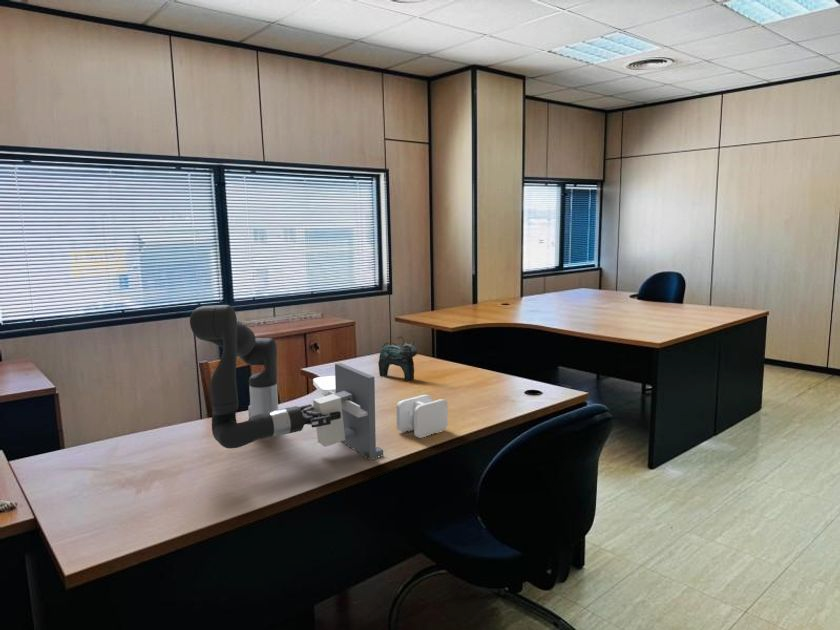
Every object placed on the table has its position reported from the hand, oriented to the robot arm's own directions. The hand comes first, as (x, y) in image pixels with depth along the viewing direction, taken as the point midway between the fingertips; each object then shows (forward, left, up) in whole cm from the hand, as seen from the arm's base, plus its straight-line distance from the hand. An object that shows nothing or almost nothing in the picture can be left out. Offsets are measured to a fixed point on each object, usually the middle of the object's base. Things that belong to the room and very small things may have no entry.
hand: (333, 410), depth 178 cm
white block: (0, +1, -9) cm, 9 cm away
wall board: (+3, +6, -14) cm, 15 cm away
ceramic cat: (-23, +89, -14) cm, 93 cm away
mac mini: (-39, +66, -15) cm, 78 cm away
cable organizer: (+17, +29, -14) cm, 36 cm away
